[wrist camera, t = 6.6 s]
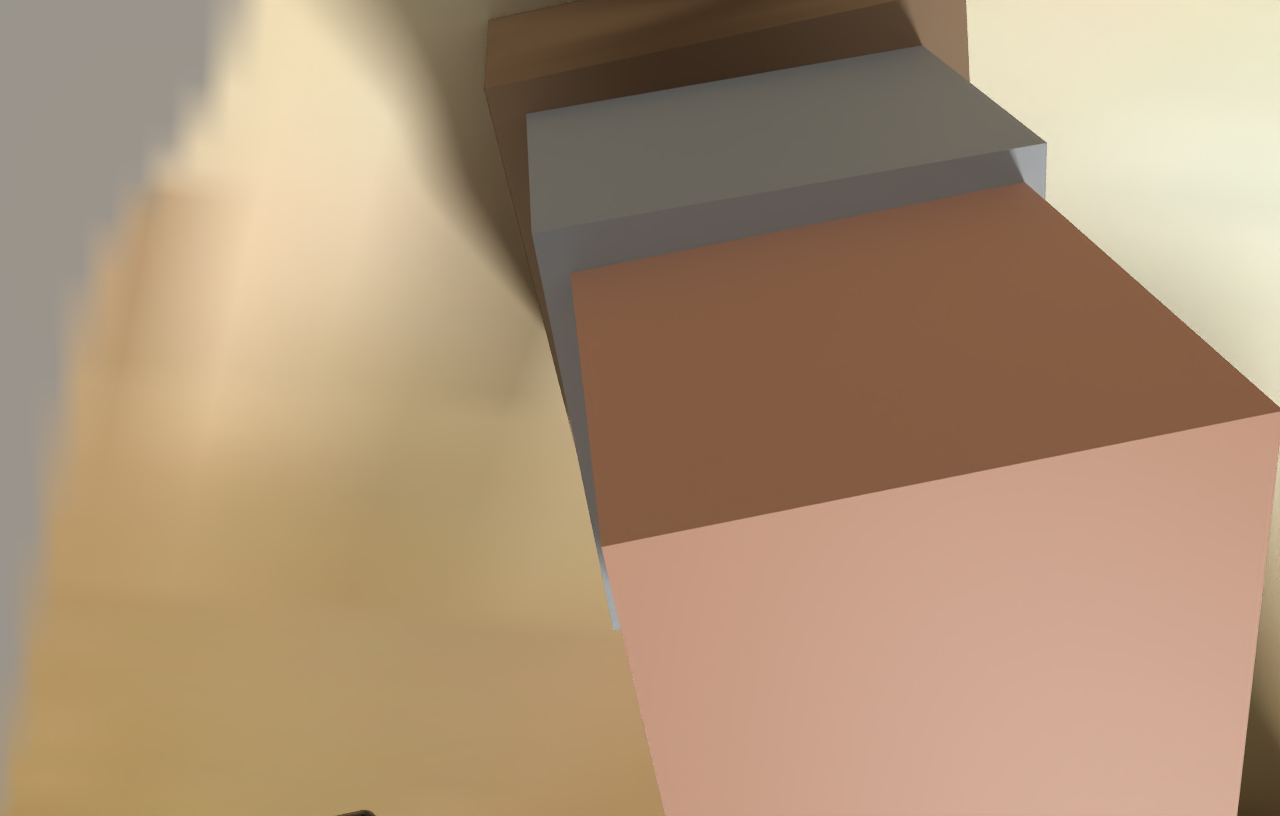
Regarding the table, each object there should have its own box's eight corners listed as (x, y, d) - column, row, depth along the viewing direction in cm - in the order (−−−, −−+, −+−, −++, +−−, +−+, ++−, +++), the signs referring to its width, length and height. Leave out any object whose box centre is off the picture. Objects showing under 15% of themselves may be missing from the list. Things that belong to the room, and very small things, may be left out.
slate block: (922, 45, 15) (1046, 143, 11) (931, 390, 17) (1036, 556, 14) (526, 113, 15) (531, 231, 11) (592, 450, 17) (614, 629, 14)
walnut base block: (878, -66, 18) (964, -15, 15) (906, 290, 21) (984, 401, 18) (488, 18, 18) (483, 88, 15) (572, 360, 21) (585, 485, 18)
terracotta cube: (1024, 181, 12) (1283, 409, 8) (1028, 547, 14) (1232, 866, 10) (570, 273, 12) (601, 546, 8) (647, 623, 14) (702, 972, 10)
